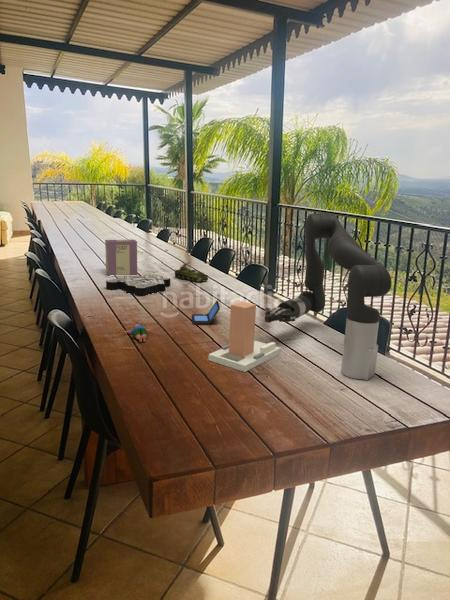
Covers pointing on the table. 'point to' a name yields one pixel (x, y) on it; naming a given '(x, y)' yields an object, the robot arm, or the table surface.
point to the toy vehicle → (190, 274)
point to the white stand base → (248, 362)
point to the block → (242, 329)
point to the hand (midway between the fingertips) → (266, 319)
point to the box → (121, 257)
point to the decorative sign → (139, 284)
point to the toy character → (139, 332)
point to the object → (206, 316)
